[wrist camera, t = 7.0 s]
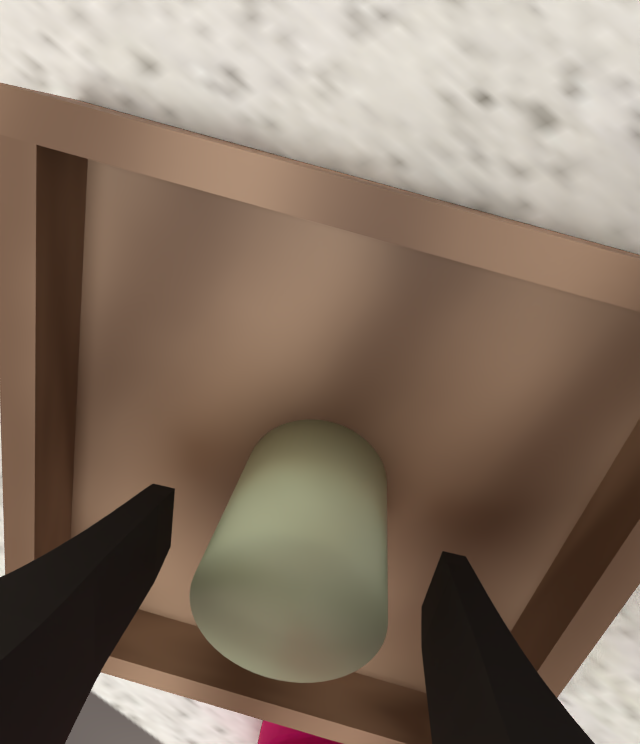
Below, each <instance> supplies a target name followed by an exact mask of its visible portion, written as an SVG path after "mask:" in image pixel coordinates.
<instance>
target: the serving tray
mask: <svg viewBox="0 0 640 744" xmlns="http://www.w3.org/2000/svg"><path fill="white" fill-rule="evenodd" d="M0 408H1V443H2V477H3V512H4V547H5V575H6V574H8V573H10V572H12V571H14V570H16V569H18V568H20V567H22V566H24V565H26V564H28V563H30V562H32V561H33V560H35V559H37V558H39V557H41V556H42V555H44V554H46V553H48V552H50V551H51V550H53V549H55V548H56V547H58V546H60V545H61V544H63V543H65V542H66V541H68V540H70V539H71V538H73V537H74V536H76V535H78V534H79V533H81V532H83V531H84V530H86V529H87V528H89V527H90V526H92V525H93V524H95V523H96V522H98V521H99V520H101V519H102V518H104V517H105V516H107V515H108V514H110V513H111V512H113V511H114V510H115V509H117V508H118V507H120V506H121V505H123V504H124V503H125V502H127V501H128V500H130V499H131V498H132V497H134V496H135V495H137V494H138V493H139V492H141V491H142V490H144V489H145V488H147V487H148V486H150V485H151V484H158V485H162V486H166V487H171V488H175V495H174V509H173V522H172V536H171V547H170V549H169V552H168V554H167V556H166V558H165V561H164V563H163V565H162V567H161V569H160V572H159V574H158V576H157V578H156V580H155V582H154V584H153V586H152V587H151V589H150V591H149V592H148V594H147V596H146V597H145V599H144V601H143V602H142V604H141V606H140V607H139V609H138V611H137V612H136V614H135V615H134V617H133V619H132V620H131V622H130V624H129V625H128V627H127V629H126V630H125V632H124V633H123V635H122V637H121V638H120V640H119V642H118V643H117V645H116V647H115V648H114V650H113V652H112V653H111V655H110V656H109V658H108V660H107V661H106V663H105V665H104V667H103V668H102V670H101V672H102V673H105V674H109V675H112V676H115V677H119V678H122V679H126V680H129V681H132V682H136V683H139V684H143V685H146V686H149V687H153V688H156V689H160V690H163V691H166V692H170V693H173V694H176V695H180V696H183V697H187V698H190V699H193V700H197V701H200V702H204V703H207V704H210V705H214V706H217V707H221V708H224V709H227V710H231V711H234V712H237V713H241V714H244V715H248V716H251V717H254V718H258V719H261V720H265V721H268V722H271V723H275V724H278V725H282V726H285V727H288V728H292V729H295V730H299V731H302V732H305V733H309V734H312V735H315V736H319V737H322V738H326V739H329V740H332V741H336V742H339V743H343V744H432V738H431V729H430V720H429V712H428V703H427V694H426V685H425V677H424V667H423V658H422V648H421V607H422V604H423V601H424V599H425V596H426V593H427V591H428V588H429V585H430V583H431V580H432V577H433V575H434V572H435V569H436V567H437V564H438V561H439V559H440V556H441V554H442V551H445V552H449V553H454V554H458V555H462V556H466V558H467V559H468V561H469V563H470V564H471V566H472V568H473V569H474V571H475V573H476V575H477V577H478V578H479V580H480V582H481V584H482V585H483V587H484V589H485V591H486V592H487V594H488V596H489V597H490V599H491V601H492V603H493V604H494V606H495V608H496V609H497V611H498V613H499V614H500V616H501V618H502V619H503V621H504V622H505V624H506V626H507V627H508V629H509V630H510V632H511V634H512V635H513V637H514V638H515V640H516V642H517V643H518V645H519V646H520V648H521V649H522V651H523V652H524V654H525V655H526V657H527V658H528V659H529V661H530V662H531V664H532V665H533V667H534V668H535V670H536V671H537V672H538V674H539V675H540V677H541V678H542V679H543V681H544V682H545V683H546V685H547V686H548V687H549V689H550V690H551V691H552V692H553V694H554V695H555V696H556V698H557V697H558V696H559V694H560V693H561V692H562V690H563V689H564V688H565V686H566V685H567V683H568V682H569V681H570V679H571V678H572V676H573V675H574V674H575V672H576V671H577V670H578V668H579V667H580V665H581V664H582V663H583V661H584V660H585V658H586V657H587V656H588V654H589V653H590V652H591V650H592V649H593V647H594V646H595V645H596V643H597V642H598V641H599V639H600V638H601V636H602V635H603V634H604V632H605V631H606V629H607V628H608V627H609V625H610V624H611V623H612V621H613V620H614V618H615V617H616V616H617V614H618V613H619V611H620V610H621V609H622V607H623V606H624V605H625V603H626V602H627V600H628V599H629V598H630V596H631V595H632V593H633V592H634V591H635V589H636V588H637V587H638V585H639V584H640V255H638V254H634V253H631V252H627V251H623V250H620V249H616V248H612V247H609V246H605V245H602V244H598V243H594V242H591V241H587V240H583V239H580V238H576V237H573V236H569V235H565V234H562V233H558V232H554V231H551V230H547V229H543V228H540V227H536V226H533V225H529V224H525V223H522V222H518V221H514V220H511V219H507V218H504V217H500V216H496V215H493V214H489V213H485V212H482V211H478V210H474V209H471V208H467V207H464V206H460V205H456V204H453V203H449V202H445V201H442V200H438V199H435V198H431V197H427V196H424V195H420V194H416V193H413V192H409V191H405V190H402V189H398V188H395V187H391V186H387V185H384V184H380V183H376V182H373V181H369V180H366V179H362V178H358V177H355V176H351V175H347V174H344V173H340V172H336V171H333V170H329V169H326V168H322V167H318V166H315V165H311V164H307V163H304V162H300V161H297V160H293V159H289V158H286V157H282V156H278V155H275V154H271V153H267V152H264V151H260V150H257V149H253V148H249V147H246V146H242V145H238V144H235V143H231V142H228V141H224V140H220V139H217V138H213V137H209V136H206V135H202V134H199V133H195V132H191V131H188V130H184V129H180V128H177V127H173V126H169V125H166V124H162V123H159V122H155V121H151V120H148V119H144V118H140V117H137V116H133V115H130V114H126V113H122V112H119V111H115V110H111V109H108V108H104V107H100V106H97V105H93V104H90V103H86V102H82V101H79V100H75V99H71V98H66V97H62V96H57V95H53V94H48V93H44V92H39V91H35V90H30V89H26V88H22V87H17V86H13V85H8V84H4V83H0ZM298 420H324V421H329V422H333V423H336V424H339V425H342V426H345V427H347V428H349V429H351V430H353V431H354V432H356V433H357V434H359V435H360V436H362V437H363V438H364V439H365V440H366V441H367V442H368V443H369V444H370V445H371V446H372V447H373V448H374V449H375V451H376V452H377V454H378V455H379V457H380V459H381V461H382V463H383V465H384V468H385V471H386V477H387V559H388V628H387V634H386V637H385V640H384V642H383V644H382V646H381V648H380V650H379V651H378V653H377V654H376V655H375V656H374V657H373V658H372V659H371V660H370V661H369V662H368V663H367V664H366V665H364V666H363V667H361V668H360V669H358V670H357V671H355V672H353V673H351V674H348V675H346V676H343V677H340V678H337V679H333V680H329V681H324V682H314V683H297V682H287V681H281V680H276V679H272V678H268V677H264V676H262V675H259V674H256V673H253V672H251V671H249V670H247V669H244V668H242V667H241V666H239V665H237V664H235V663H233V662H232V661H231V660H229V659H228V658H226V657H225V656H223V655H222V654H221V653H220V652H219V651H217V650H216V649H215V648H214V647H213V646H212V645H211V644H210V643H209V642H208V641H207V639H206V638H205V637H204V635H203V634H202V633H201V631H200V629H199V628H198V626H197V624H196V622H195V619H194V617H193V614H192V611H191V606H190V586H191V583H192V579H193V576H194V574H195V572H196V570H197V568H198V566H199V563H200V561H201V559H202V557H203V555H204V553H205V551H206V549H207V546H208V544H209V542H210V540H211V538H212V536H213V534H214V532H215V529H216V527H217V525H218V523H219V521H220V519H221V517H222V514H223V512H224V510H225V508H226V506H227V504H228V502H229V500H230V497H231V495H232V493H233V491H234V489H235V487H236V485H237V482H238V480H239V478H240V476H241V474H242V472H243V470H244V468H245V465H246V463H247V461H248V459H249V457H250V455H251V453H252V451H253V449H254V447H255V446H256V444H257V443H258V442H259V441H260V440H261V439H262V438H263V437H264V436H265V435H266V434H267V433H268V432H270V431H271V430H273V429H275V428H277V427H278V426H281V425H283V424H286V423H289V422H293V421H298Z"/></svg>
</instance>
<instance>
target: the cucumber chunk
mask: <svg viewBox="0 0 640 744" xmlns="http://www.w3.org/2000/svg"><path fill="white" fill-rule="evenodd" d="M190 606H191V611H192V614H193V617H194V619H195V622H196V624H197V626H198V628H199V629H200V631H201V633H202V634H203V635H204V637H205V638H206V639H207V641H208V642H209V643H210V644H211V645H212V646H213V647H214V648H215V649H216V650H217V651H219V652H220V653H221V654H222V655H223V656H225V657H226V658H228V659H229V660H231V661H232V662H233V663H235V664H237V665H239V666H241V667H242V668H244V669H247V670H249V671H251V672H253V673H256V674H259V675H262V676H264V677H268V678H272V679H276V680H281V681H287V682H297V683H314V682H324V681H329V680H333V679H337V678H340V677H343V676H346V675H348V674H351V673H353V672H355V671H357V670H358V669H360V668H361V667H363V666H364V665H366V664H367V663H368V662H369V661H370V660H371V659H372V658H373V657H374V656H375V655H376V654H377V653H378V651H379V650H380V648H381V646H382V644H383V642H384V640H385V637H386V634H387V628H388V559H387V477H386V471H385V468H384V465H383V463H382V461H381V459H380V457H379V455H378V454H377V452H376V451H375V449H374V448H373V447H372V446H371V445H370V444H369V443H368V442H367V441H366V440H365V439H364V438H363V437H362V436H360V435H359V434H357V433H356V432H354V431H353V430H351V429H349V428H347V427H345V426H342V425H339V424H336V423H333V422H329V421H324V420H298V421H293V422H289V423H286V424H283V425H281V426H278V427H277V428H275V429H273V430H271V431H270V432H268V433H267V434H266V435H265V436H264V437H263V438H262V439H261V440H260V441H259V442H258V443H257V444H256V446H255V447H254V449H253V451H252V453H251V455H250V457H249V459H248V461H247V463H246V465H245V468H244V470H243V472H242V474H241V476H240V478H239V480H238V482H237V485H236V487H235V489H234V491H233V493H232V495H231V497H230V500H229V502H228V504H227V506H226V508H225V510H224V512H223V514H222V517H221V519H220V521H219V523H218V525H217V527H216V529H215V532H214V534H213V536H212V538H211V540H210V542H209V544H208V546H207V549H206V551H205V553H204V555H203V557H202V559H201V561H200V563H199V566H198V568H197V570H196V572H195V574H194V576H193V579H192V583H191V586H190Z"/></svg>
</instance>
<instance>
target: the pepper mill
mask: <svg viewBox="0 0 640 744" xmlns="http://www.w3.org/2000/svg"><path fill="white" fill-rule="evenodd" d="M258 744H343V743H339V742H336V741H332V740H329V739H326V738H322V737H319V736H315V735H312V734H309V733H305V732H302V731H299V730H295V729H292V728H288V727H285V726H282V725H278V724H275V723H271V722H268V721H265V720H263V723H262V727H261V731H260V736H259V740H258Z"/></svg>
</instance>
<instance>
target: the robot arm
mask: <svg viewBox="0 0 640 744" xmlns="http://www.w3.org/2000/svg"><path fill="white" fill-rule="evenodd" d="M174 495H175V488H171V487H166V486H162V485H158V484H151V485H150V486H148V487H147V488H145V489H144V490H142V491H141V492H139V493H138V494H137V495H135V496H134V497H132V498H131V499H130V500H128V501H127V502H125V503H124V504H123V505H121V506H120V507H118V508H117V509H115V510H114V511H113V512H111V513H110V514H108V515H107V516H105V517H104V518H102V519H101V520H99V521H98V522H96V523H95V524H93V525H92V526H90V527H89V528H87V529H86V530H84V531H83V532H81V533H79V534H78V535H76V536H74V537H73V538H71V539H70V540H68V541H66V542H65V543H63V544H61V545H60V546H58V547H56V548H55V549H53V550H51V551H50V552H48V553H46V554H44V555H42V556H41V557H39V558H37V559H35V560H33V561H32V562H30V563H28V564H26V565H24V566H22V567H20V568H18V569H16V570H14V571H12V572H10V573H8V574H6V575H4V576H2V577H0V744H65V742H66V740H67V738H68V736H69V734H70V732H71V729H72V727H73V725H74V723H75V721H76V719H77V717H78V715H79V713H80V711H81V709H82V707H83V705H84V703H85V701H86V699H87V697H88V695H89V693H90V691H91V689H92V687H93V685H94V683H95V681H96V679H97V677H98V676H99V674H100V672H101V670H102V668H103V667H104V665H105V663H106V661H107V660H108V658H109V656H110V655H111V653H112V652H113V650H114V648H115V647H116V645H117V643H118V642H119V640H120V638H121V637H122V635H123V633H124V632H125V630H126V629H127V627H128V625H129V624H130V622H131V620H132V619H133V617H134V615H135V614H136V612H137V611H138V609H139V607H140V606H141V604H142V602H143V601H144V599H145V597H146V596H147V594H148V592H149V591H150V589H151V587H152V586H153V584H154V582H155V580H156V578H157V576H158V574H159V572H160V569H161V567H162V565H163V563H164V561H165V558H166V556H167V554H168V552H169V549H170V547H171V536H172V522H173V509H174ZM421 648H422V658H423V667H424V677H425V685H426V694H427V703H428V712H429V720H430V729H431V738H432V744H595V743H594V742H593V741H592V740H591V739H590V738H589V737H588V735H587V734H586V733H585V732H584V731H583V730H582V728H581V727H580V726H579V725H578V724H577V723H576V721H575V720H574V719H573V718H572V717H571V715H570V714H569V713H568V712H567V710H566V709H565V708H564V706H563V705H562V704H561V703H560V701H559V700H558V699H557V698H556V696H555V695H554V694H553V692H552V691H551V690H550V689H549V687H548V686H547V685H546V683H545V682H544V681H543V679H542V678H541V677H540V675H539V674H538V672H537V671H536V670H535V668H534V667H533V665H532V664H531V662H530V661H529V659H528V658H527V657H526V655H525V654H524V652H523V651H522V649H521V648H520V646H519V645H518V643H517V642H516V640H515V638H514V637H513V635H512V634H511V632H510V630H509V629H508V627H507V626H506V624H505V622H504V621H503V619H502V618H501V616H500V614H499V613H498V611H497V609H496V608H495V606H494V604H493V603H492V601H491V599H490V597H489V596H488V594H487V592H486V591H485V589H484V587H483V585H482V584H481V582H480V580H479V578H478V577H477V575H476V573H475V571H474V569H473V568H472V566H471V564H470V563H469V561H468V559H467V558H466V556H462V555H458V554H454V553H449V552H445V551H442V554H441V556H440V559H439V561H438V564H437V567H436V569H435V572H434V575H433V577H432V580H431V583H430V585H429V588H428V591H427V593H426V596H425V599H424V601H423V604H422V607H421Z"/></svg>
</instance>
